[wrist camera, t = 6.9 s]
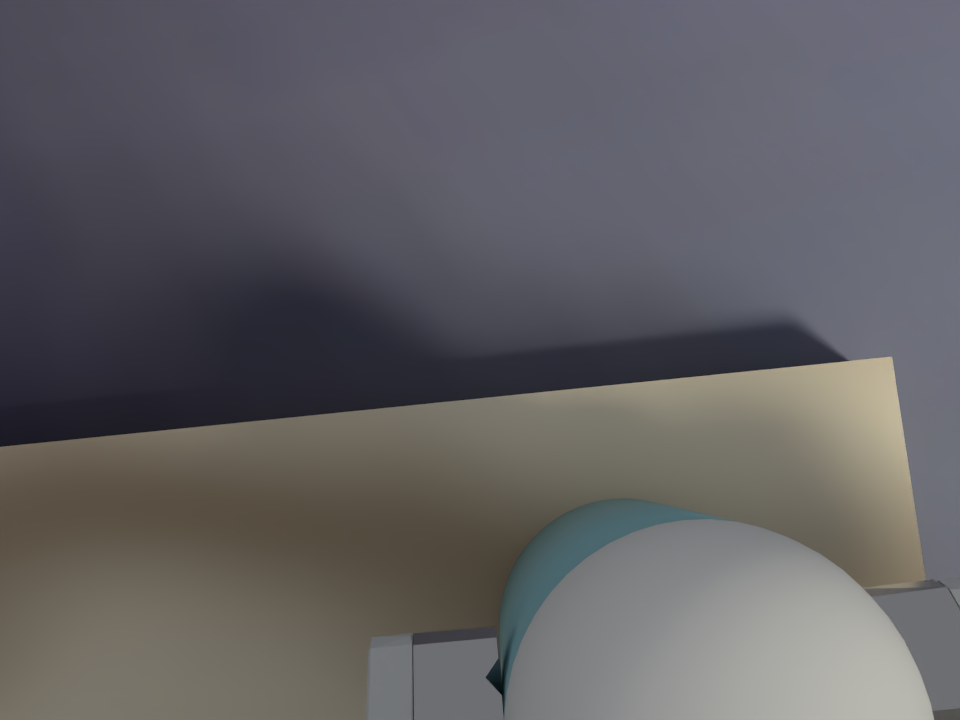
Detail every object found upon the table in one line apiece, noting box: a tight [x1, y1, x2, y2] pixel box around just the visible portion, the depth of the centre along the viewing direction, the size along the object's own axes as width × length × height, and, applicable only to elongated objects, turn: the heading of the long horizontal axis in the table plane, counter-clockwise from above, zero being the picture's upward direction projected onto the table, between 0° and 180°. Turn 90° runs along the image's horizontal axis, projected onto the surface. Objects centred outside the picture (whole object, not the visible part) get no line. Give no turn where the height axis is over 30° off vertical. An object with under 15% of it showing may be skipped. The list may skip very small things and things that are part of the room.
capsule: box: [499, 498, 934, 720], centre depth 11 cm, size 4×4×8 cm
